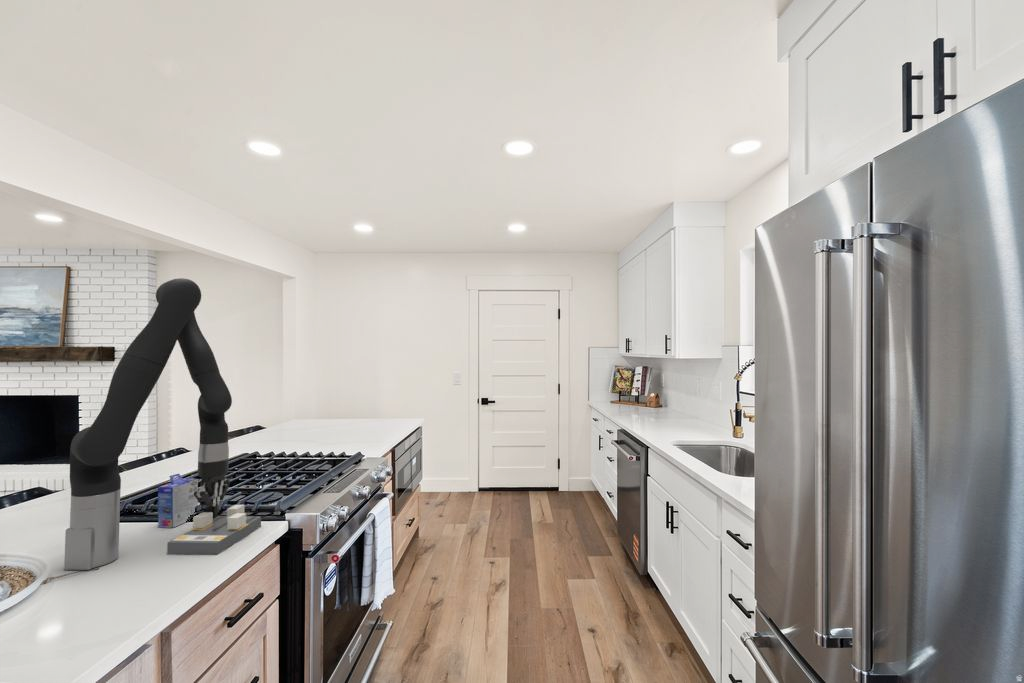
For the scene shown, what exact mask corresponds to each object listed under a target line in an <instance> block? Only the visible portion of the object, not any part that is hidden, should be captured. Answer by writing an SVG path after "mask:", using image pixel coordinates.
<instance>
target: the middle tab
mask: <svg viewBox="0 0 1024 683" xmlns="http://www.w3.org/2000/svg"><path fill="white" fill-rule="evenodd" d="M236 513H245V504H234V505H232V506H230V507H228V508H227V509H226V516H227V519H228V517H230V516H232V515H234V514H236Z"/></svg>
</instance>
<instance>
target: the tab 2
mask: <svg viewBox="0 0 1024 683" xmlns="http://www.w3.org/2000/svg"><path fill="white" fill-rule="evenodd" d="M246 516H247V513H246V512H244V513H236V514H234V515H232V516H230V517H228V520H227V529H238V528H240V527H242V526H243V525H245V524H246Z"/></svg>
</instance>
